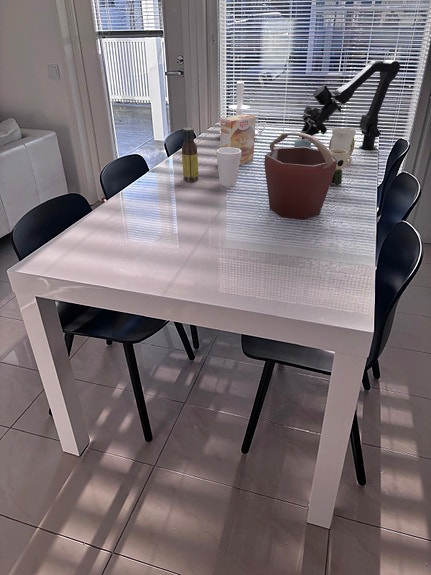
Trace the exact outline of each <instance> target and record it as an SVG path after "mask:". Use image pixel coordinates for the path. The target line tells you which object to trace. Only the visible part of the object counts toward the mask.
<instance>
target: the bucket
mask: <svg viewBox="0 0 431 575" xmlns="http://www.w3.org/2000/svg"><path fill="white" fill-rule="evenodd" d="M289 136H293V137H294V136H295V137H296V136H297V137H299V138H302V137H303V138H305V139H307V140H309V141H310V142H311V145H312V144H313V146H314V147H316V148H313V147H311V148H308V147H294V146H293V147H291V146H289V147H288V146H287V147H276V144H279V143H281V142H282V141H284V140H285V139H286V138H287V137H289ZM269 143H270V144H269V149H270V151H269V152H267V153H266V154H264V162H263V163H264V164H263V166H264V172H265V174H264V175H265V180H266V188H267V189H266V190H267V196H268V204H269V210H270V211H272V212H273V213H274V214H276V215H277V216H278V217H280V218H281V219H282V218H283V219H290V220H291V219H293V220H302V221H305V220H307V219H311V218H314V217H318V216H320V214H321V211H322V208H323V206H324V203H325V201H326V197H327V195H328V192H329V189H330V187H331V185H330V184H331V182H332V179H333V176H334V173H335V171H336V165H337V160H336V159H335V157H334V156H333V154H332V153H331V152H329V148H327V147H326V146H325V145H324V143H322V141H321V140H320V139H318V138H316V137H315V136H314V135H313V136H311V135H308V134H305V133H300V132H286V133H282V134H280V135H279V136H278V137H277V138H275V139H274V140H273V141H272V142H269Z"/></svg>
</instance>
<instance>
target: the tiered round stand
mask: <svg viewBox="0 0 431 575" xmlns="http://www.w3.org/2000/svg"><path fill="white" fill-rule="evenodd" d="M293 147H308V148H312V143H311V142H310V141H309V140H307V139H302V138H298V139H294V145H293Z"/></svg>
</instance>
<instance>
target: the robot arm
mask: <svg viewBox="0 0 431 575" xmlns="http://www.w3.org/2000/svg"><path fill="white" fill-rule="evenodd" d="M400 69H401V65H400V62H399V61H397V60H392V59H385V61H376V60H375V61H374V60H372V61H369V63H368V64H367V65H366V66H365V67H364V68H363V69H362V70H361V71H360V72H358V73H357V74H356V75H355V76H354V77H353V78H351V80H350V81H349V82H347V83H344V84H343V85H341V86H340V87H338V88H337V89H336V90H335V91H330V90H329V88H328V86H327V85H326V84H323V85H322V86H319V87H318V88H316V89H315V90H314V92H312V96H313V98H314V99H315V101H316V102H317V103H318V104H319V105H320V106H322V107H321V108H317V107H315V106H314V107H310V106H309V105H306V107H305V109H304V110H303V113H304V114H303V115H302V116H301V118H302V120H303V124H304V125H303V127H302V129H301V131H306V132H305V134H308V135H311V136H313V137H314V136H315V135H319V134H320V133H321V134H322V135H323V136H324V135H325V134H326V133H327V131H328V128H327V127H326V125H325V124H324V123H325V122H326V121H327V122H328V121H330V117H331V116H332V115H333V114H335V112H338V113H341V112H342V105H340V104H343V105H345V104H347V103H348V102H349V101H350V100H351V99H352V97H353V96H354V94H355V92H356V90H358V89H359V88H360V87H361V86H362V85H363V84H364V83H365V82H366V81H368V80H369V79H370V78H371V77H372V76H373V75H374V74H375V73H376V72H379V82H378V84H377V88H376V89H375V92H374V95H373V99H372V101H371V103H370V105H369V108H368V112H366V114H362V115H361V119H360V121H359V122H358V123H359V129H360V130H361V134H362V135H363V139H362V143H361V145H360V146H358V148H359V149H364V150H368V151H372V150H374V149H377V146H375V142H376V138H380V135H381V131H380V130H379V129H378V125H379V113H380V111H381V109H382V105H383V103H384V100H385V97H386V95H387V92H388V90H389V87H390V85H391V83H392V81H394V80H395V78H396V77H397V76H398V73H399V71H400ZM338 103H339V104H338ZM301 139H305V138H303V137H301Z"/></svg>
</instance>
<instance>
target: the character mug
mask: <svg viewBox="0 0 431 575" xmlns="http://www.w3.org/2000/svg"><path fill="white" fill-rule="evenodd" d="M328 150H329V149H328ZM329 152H331V153H332V154H333V156H334V157H335V159H336V160H337V165H336V171H335V173H334V176H333V179H332V182H331V184H330V186H332V184H333V186H341V184H342V180H343V171H342V170H343V169H345V167H346V166H351V165H352V161H353V158H352V157H351V156H350V157H347V154H348V152H347V151H346V150H343V149H330V150H329ZM347 159H348V160H347ZM346 160H347V161H348V162H347V161H346Z"/></svg>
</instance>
